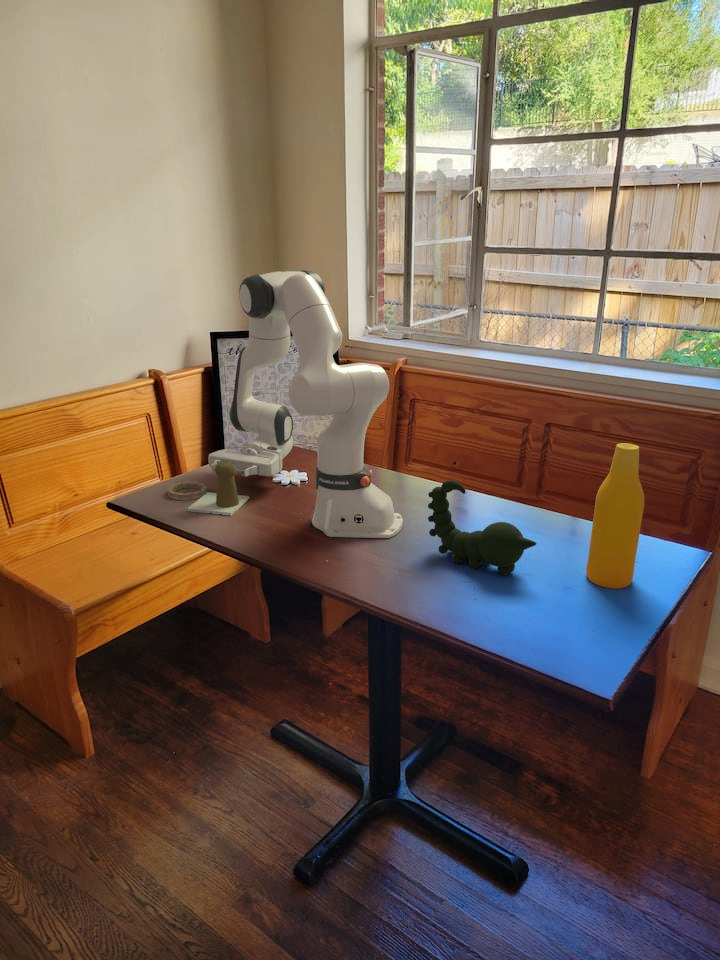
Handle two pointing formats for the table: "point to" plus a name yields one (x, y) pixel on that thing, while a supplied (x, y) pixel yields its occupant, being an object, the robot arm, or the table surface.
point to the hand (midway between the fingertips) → (228, 471)
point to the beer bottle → (617, 521)
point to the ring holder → (187, 495)
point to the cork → (226, 485)
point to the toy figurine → (475, 536)
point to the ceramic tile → (209, 505)
